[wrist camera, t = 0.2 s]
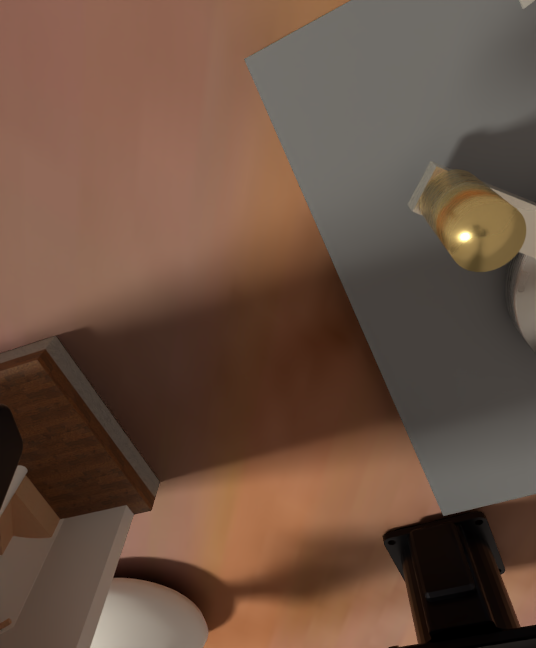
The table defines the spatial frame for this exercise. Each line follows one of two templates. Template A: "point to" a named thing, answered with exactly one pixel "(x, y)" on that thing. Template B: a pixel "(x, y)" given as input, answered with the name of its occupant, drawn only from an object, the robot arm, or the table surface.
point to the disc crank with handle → (484, 233)
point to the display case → (63, 501)
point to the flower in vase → (148, 618)
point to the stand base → (411, 228)
